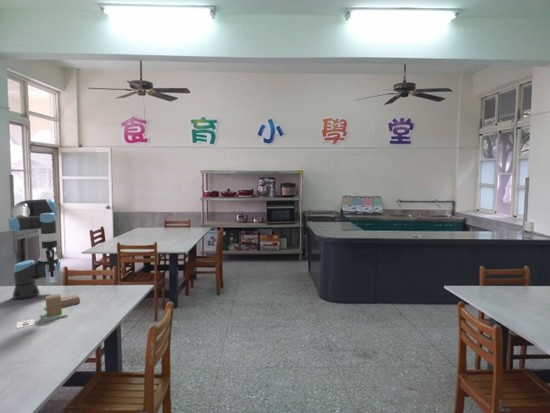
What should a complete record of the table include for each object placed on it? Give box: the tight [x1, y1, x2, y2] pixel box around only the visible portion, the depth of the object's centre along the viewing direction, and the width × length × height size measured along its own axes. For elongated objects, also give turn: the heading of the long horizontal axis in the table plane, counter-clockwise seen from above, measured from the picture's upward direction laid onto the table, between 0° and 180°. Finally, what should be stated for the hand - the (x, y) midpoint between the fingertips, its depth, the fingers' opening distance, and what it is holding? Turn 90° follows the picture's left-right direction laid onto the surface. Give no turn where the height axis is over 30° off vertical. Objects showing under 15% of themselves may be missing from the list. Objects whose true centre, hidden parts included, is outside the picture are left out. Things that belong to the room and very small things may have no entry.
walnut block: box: [45, 293, 63, 317], centre depth 221 cm, size 7×7×10 cm
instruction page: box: [16, 318, 35, 329], centre depth 210 cm, size 10×8×1 cm
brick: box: [61, 294, 81, 308], centre depth 240 cm, size 17×8×5 cm, turn 135°
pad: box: [40, 308, 68, 322], centre depth 221 cm, size 12×12×1 cm
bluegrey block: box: [45, 264, 59, 285], centre depth 219 cm, size 5×5×10 cm
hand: (52, 281), depth 220 cm, fingers closed on bluegrey block, 5 cm apart
